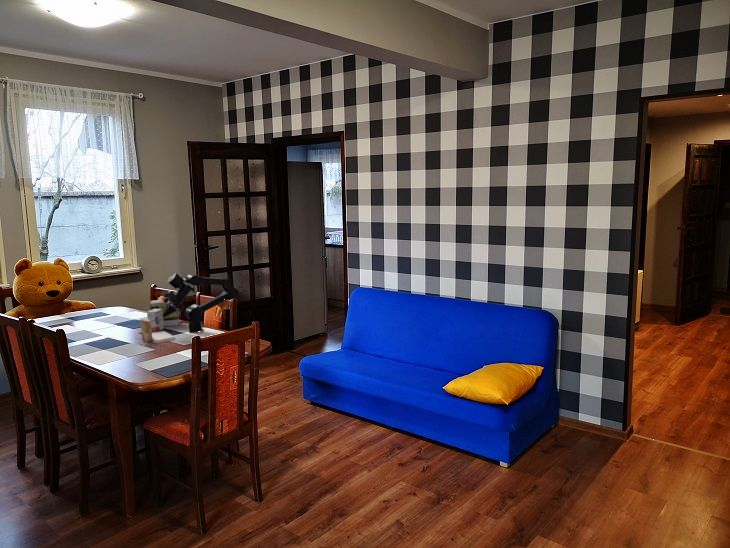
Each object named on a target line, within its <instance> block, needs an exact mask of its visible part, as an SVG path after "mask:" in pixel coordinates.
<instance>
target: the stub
mask: <svg viewBox="0 0 730 548" xmlns="http://www.w3.org/2000/svg"><path fill="white" fill-rule="evenodd" d="M140 329H141V337H142V338H141V339H142V340H143V341H145V342H146V343H148V342H153V341H152V333H153V332H152V330H151V321H150V320H149V319H148V317H147V318H141V319H140Z"/></svg>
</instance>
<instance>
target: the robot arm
mask: <svg viewBox="0 0 730 548" xmlns="http://www.w3.org/2000/svg"><path fill="white" fill-rule="evenodd" d="M167 284H168V285H170V286H171V287H173V289H177V291H171V290H169V291H166V290H163V291H162V293H161V297H163V298H162V299H161V300H162V301H164V302H165V304H166V308H165V310H164V313H163V315H162V316H163V317H166V316H168V315H169V314H171V313H173V312H176V311H178V312H183V311H184V310H185V311H184V317H186V319H188V320H189V323H188V331H189V332H188V333H189V334H192V333H191V332H198V331H202V330H203V331H204V328H203V321H204V317H203V316H202V315H203V313H204V312H207V311H209V310H210V309H212V308H214V307H216V306H218V305H220V304H222V303H224V302H226V301H231V299H232V300H235V299H237V298H238V297H239V295H240V291H239V289H237V288H235V286H234V285H233V284H232V283H231V282H230V281H229V280H228V279H227V278H224V277H222V278H221V277H220V278H219V277H203V276H200V275H196V274H191V273H190V274H188V275H187V276H185V277H181V276H180V275H179V274H178V273H177V272H175V273H174V274H172V275H171V276H169V277H168V278H167ZM202 285H213V286H221V288H222V289H223V291H222V292H221V294H219V295H217V296H215V297H213V298H211V299H209V300H207V301H205V302H202V303H201V304H199V305H198V304H196V303H195V304H194V303H193V304H192V305H191V306H187V308H186V309H185V306H184V305H183V304H182V303H183V301H186V297H188V295H189V293H191V292H192V293H195V292H196V291H195V290H196V289H195V287H196V286H202ZM194 286H195V287H194ZM224 299H225V300H224ZM177 309H178V310H177ZM203 331H202V332H203Z"/></svg>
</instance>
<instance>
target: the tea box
mask: <svg viewBox="0 0 730 548" xmlns="http://www.w3.org/2000/svg"><path fill="white" fill-rule="evenodd" d="M149 304H150V305H149V307H150V310H153V309H162V310H163V313H164V310H165V308H166V304H165V302H164V301H162V299H157V300H156V299H155V300H150V303H149ZM177 310H178V311H176V312H173V313H171V314H169V315H168V316H166V317H163V323H164V327H173V326H180V315H179V309H177Z"/></svg>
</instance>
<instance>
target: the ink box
mask: <svg viewBox="0 0 730 548" xmlns="http://www.w3.org/2000/svg"><path fill="white" fill-rule="evenodd" d="M146 315H147V316H146V317H147V319H149V320H150V321H151V330H152V333H155V332H160V331H163V330H164V328H165V326H164V323H163V316H162V315H163V310H162V309H153V310H151V309H150V310H147V312H146ZM159 330H160V331H159Z"/></svg>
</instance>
